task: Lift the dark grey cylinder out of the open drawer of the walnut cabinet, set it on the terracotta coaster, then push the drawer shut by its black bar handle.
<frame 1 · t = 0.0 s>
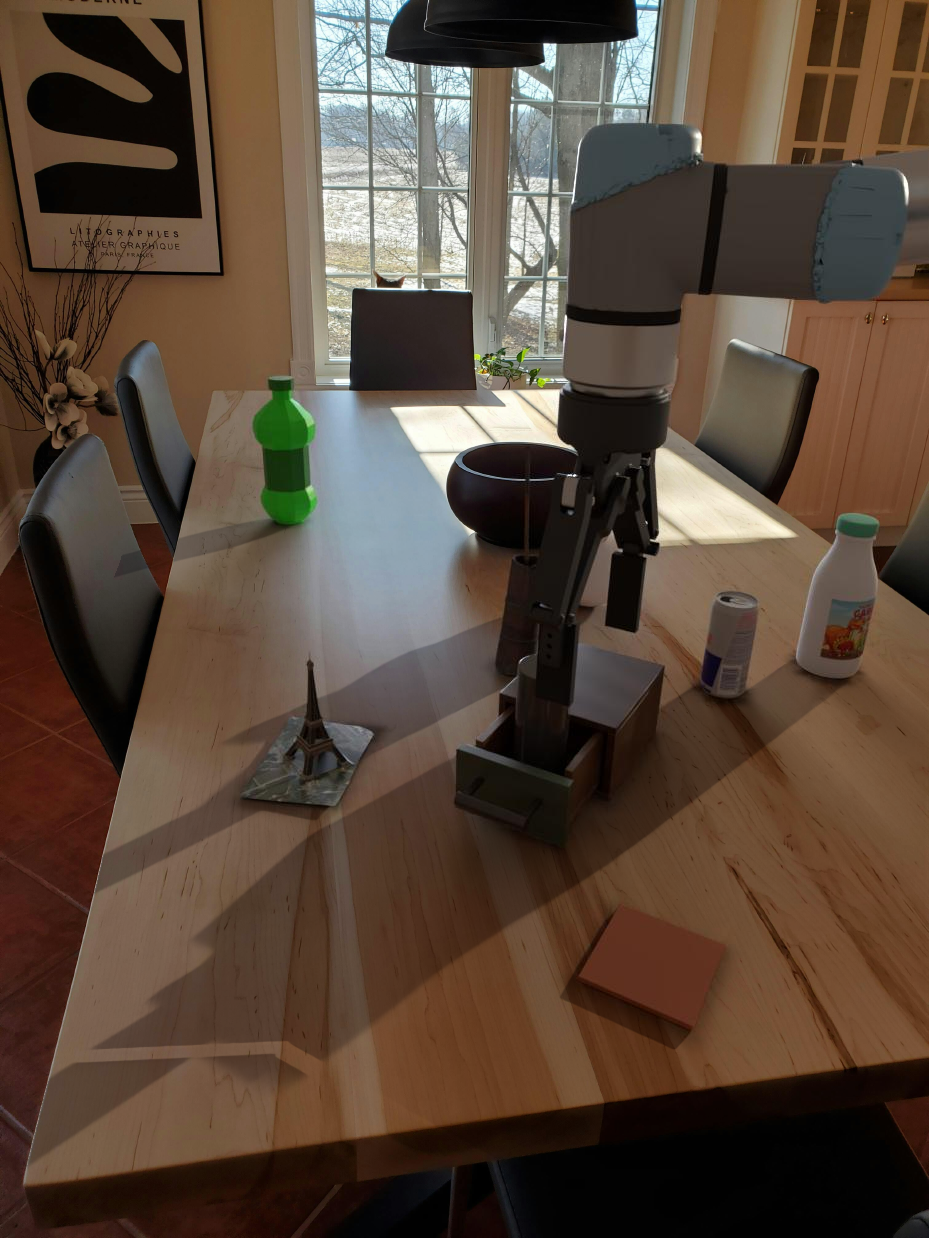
hand: (590, 661, 70), 22 cm above the table, tool pointing down, fingers open, 13 cm apart
coaster: (652, 964, 71), on the table
energy drink: (721, 689, 110), on the table
drawer: (531, 772, 86), point 4 cm above the table, slide at 8.5 cm, touching dark grey cylinder
milk bottle: (825, 666, 116), on the table
plastic bottle: (290, 520, 161), on the table
dark grey cylinder: (538, 781, 89), point 2 cm above the table, touching drawer
cabinet: (578, 747, 98), on the table
piggy bank: (584, 604, 131), on the table
eiffel tower figurine: (312, 763, 95), on the table
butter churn: (520, 672, 113), on the table
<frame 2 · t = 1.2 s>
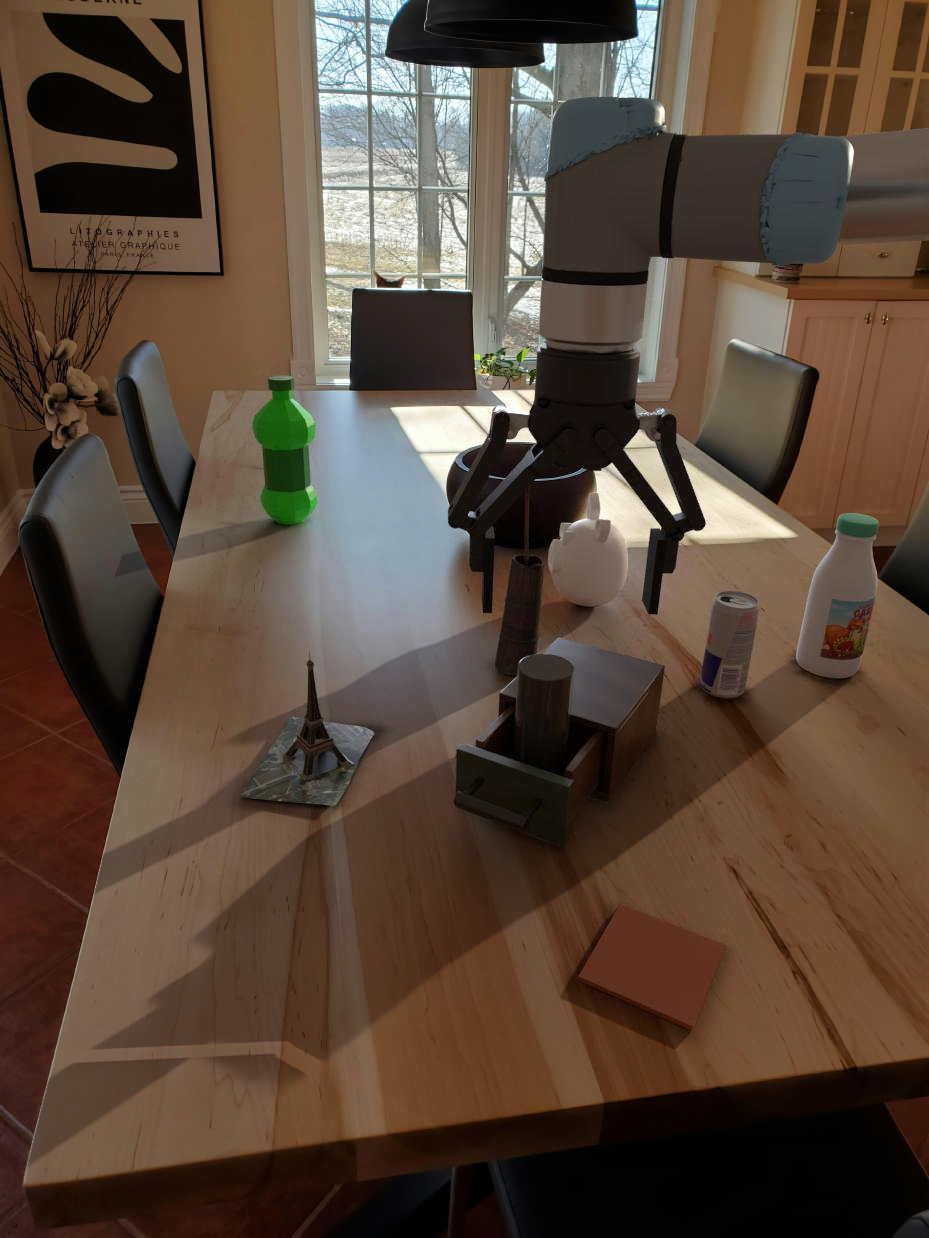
hand: (568, 607, 75), 23 cm above the table, tool pointing down, fingers open, 13 cm apart
nothing on the table moved.
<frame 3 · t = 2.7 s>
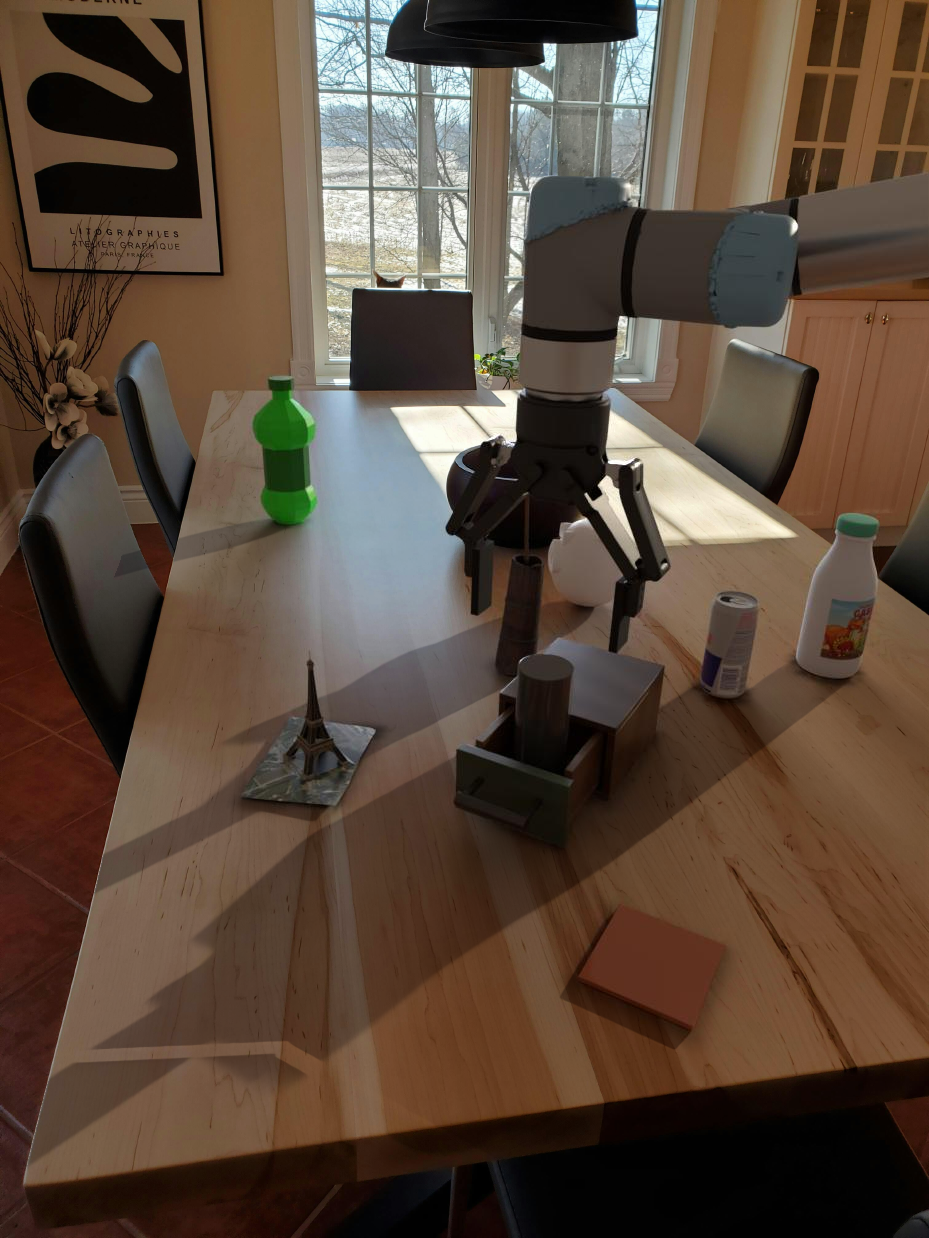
hand: (547, 627, 81), 19 cm above the table, tool pointing down, fingers open, 13 cm apart
nothing on the table moved.
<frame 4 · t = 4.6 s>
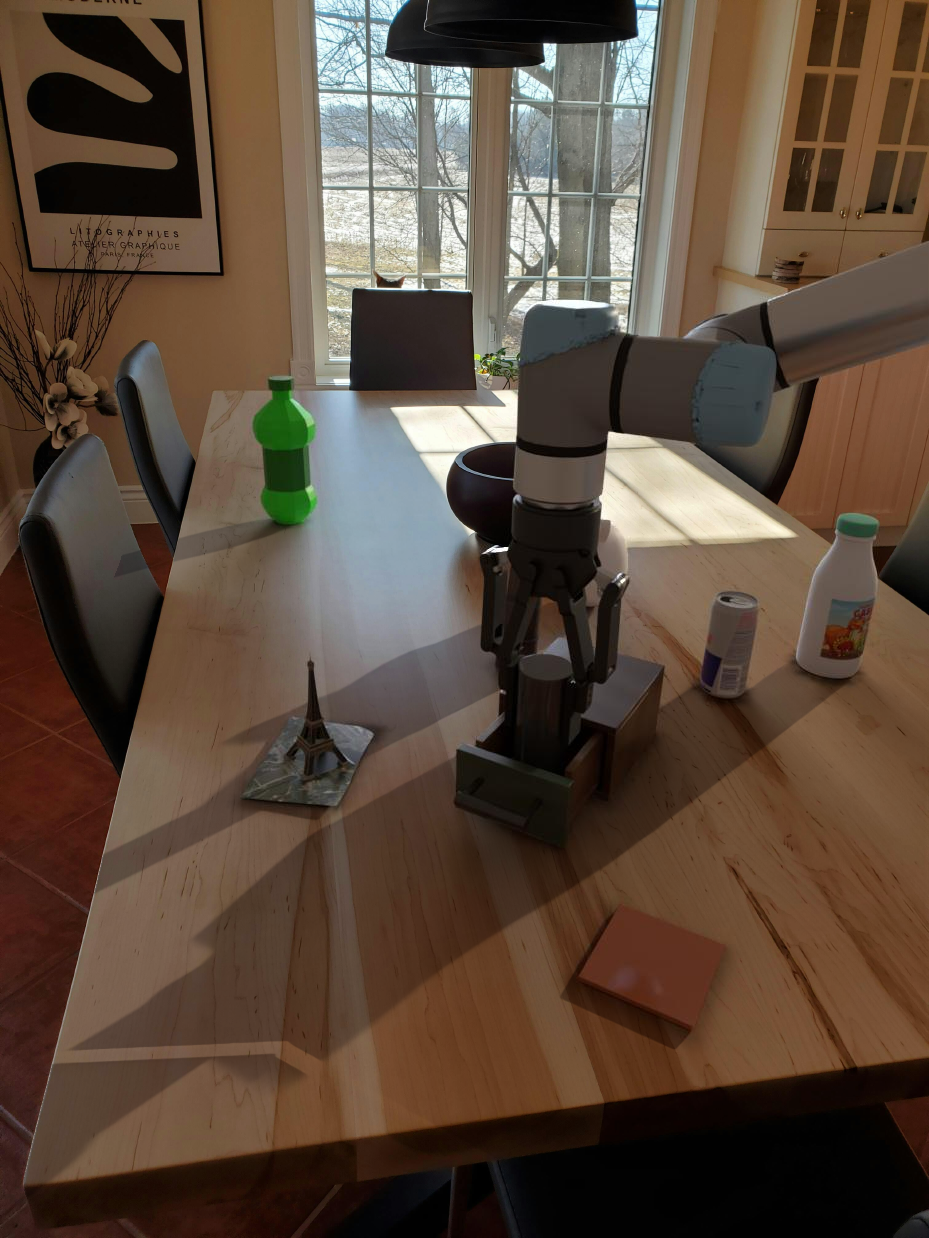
hand: (541, 728, 86), 8 cm above the table, tool pointing down, fingers closed on dark grey cylinder, 5 cm apart
dark grey cylinder: (538, 781, 89), point 2 cm above the table, touching drawer, gripper
everything else where it was.
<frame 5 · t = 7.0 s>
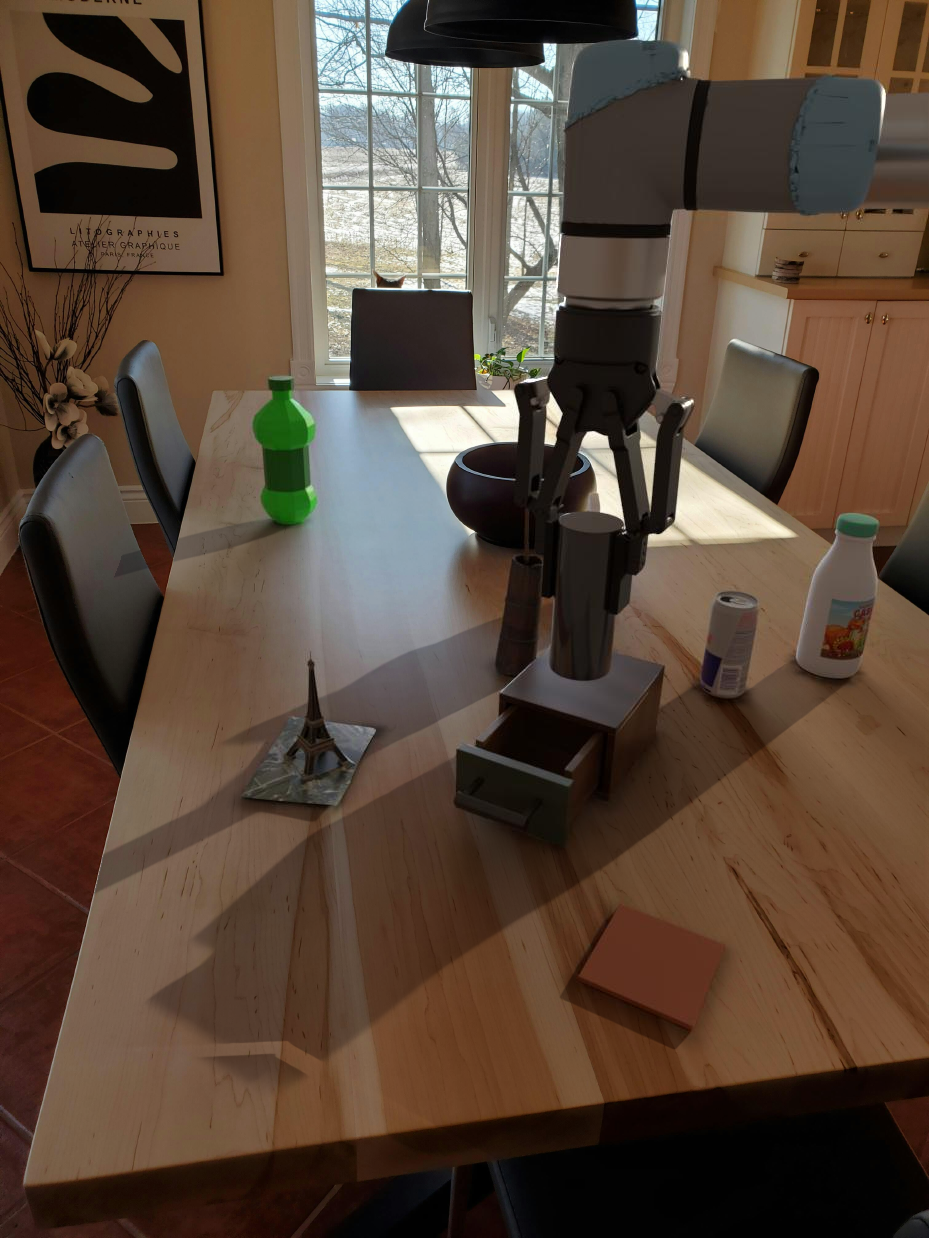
hand: (585, 599, 74), 24 cm above the table, tool pointing down, fingers closed on dark grey cylinder, 5 cm apart
drawer: (531, 772, 86), point 4 cm above the table, slide at 8.5 cm
dark grey cylinder: (579, 666, 76), point 18 cm above the table, touching gripper
everything else where it was.
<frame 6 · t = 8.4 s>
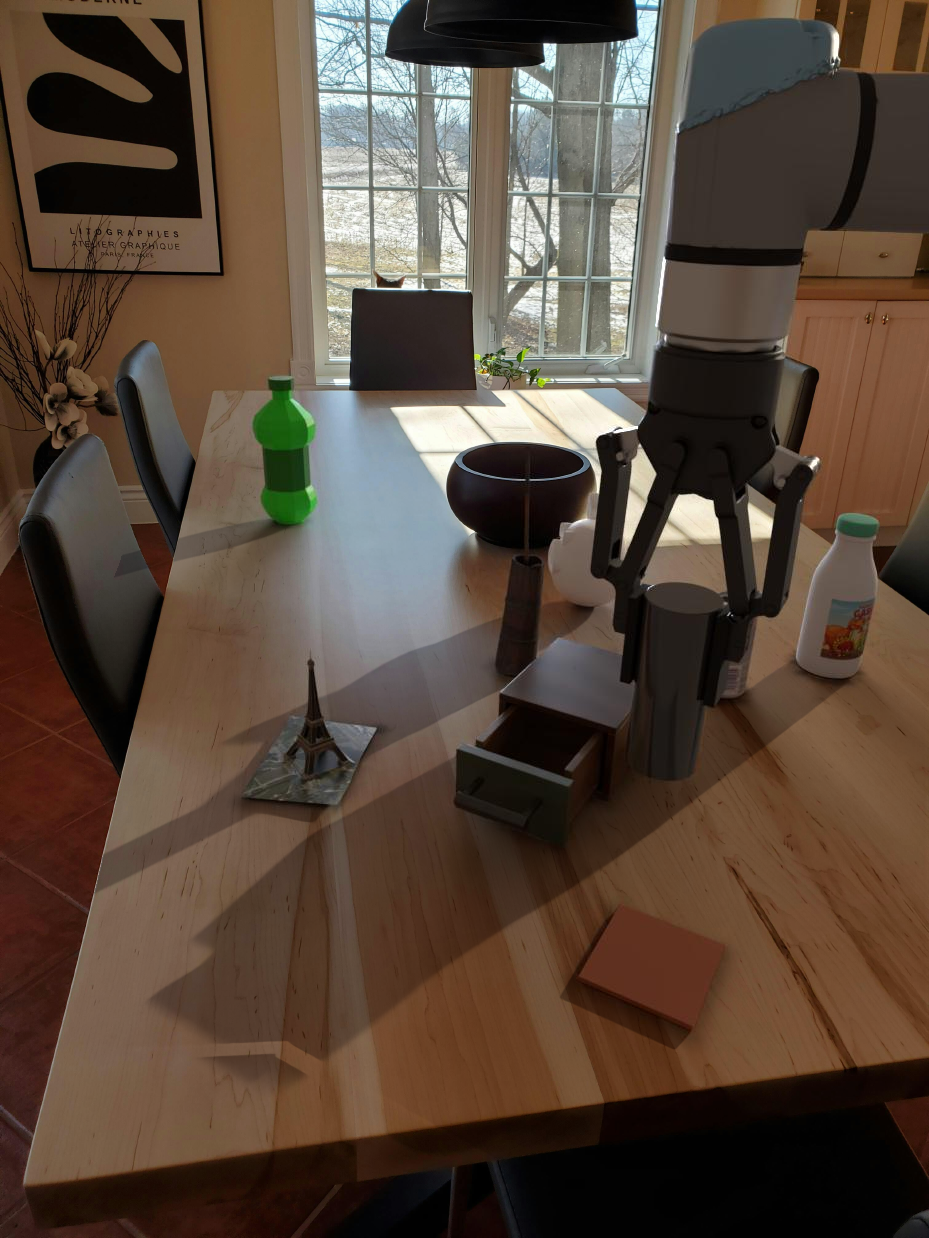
hand: (672, 685, 62), 24 cm above the table, tool pointing down, fingers closed on dark grey cylinder, 5 cm apart
dark grey cylinder: (661, 760, 65), point 18 cm above the table, touching gripper
everything else where it was.
when the fingers open (7 cm above the table, at t = 12.6 s): dark grey cylinder stays where it is, resting on coaster.
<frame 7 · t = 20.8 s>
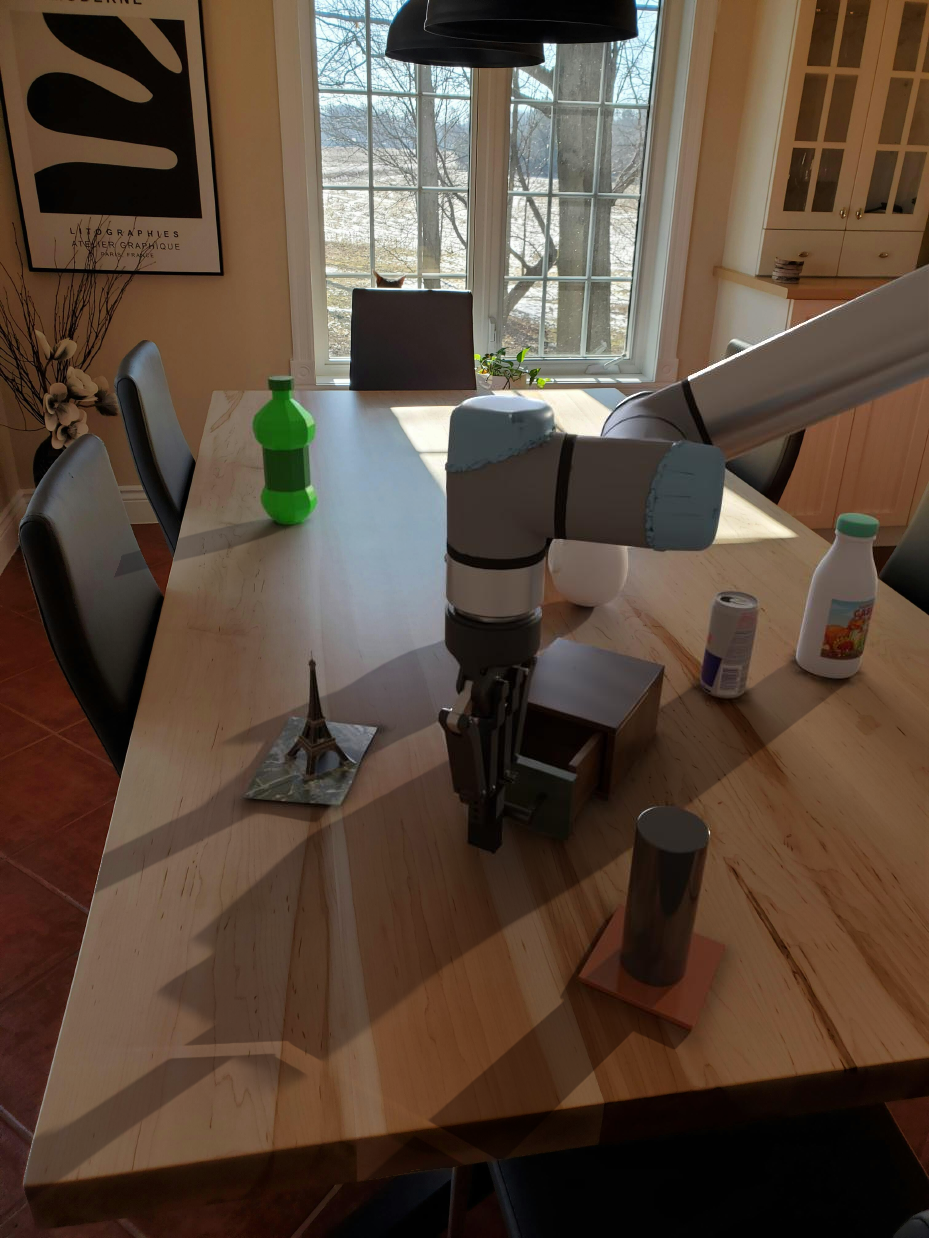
hand: (484, 844, 80), 2 cm above the table, tool pointing down, fingers closed
drawer: (535, 767, 87), point 4 cm above the table, slide at 7.6 cm, touching gripper
dark grey cylinder: (652, 960, 70), resting on coaster
everything else where it was.
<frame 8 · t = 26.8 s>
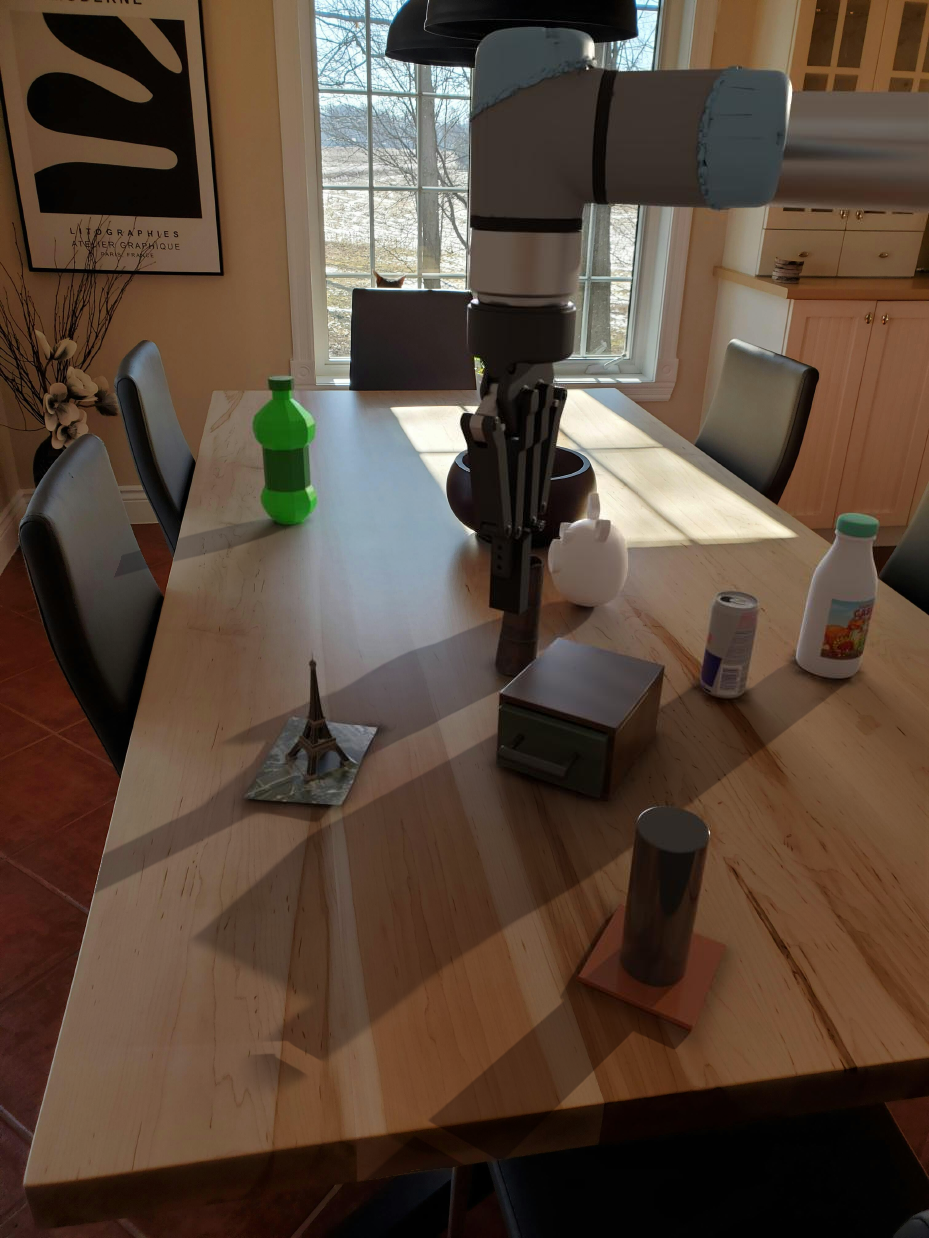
hand: (508, 607, 72), 24 cm above the table, tool pointing down, fingers closed
drawer: (566, 730, 93), point 4 cm above the table, slide at 0.0 cm
everything else where it was.
at the end: dark grey cylinder 0.0 cm off-centre on the coaster, point 0.5 cm above the coaster's base; dark grey cylinder tilted 0°; drawer slide at 0.0 cm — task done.
